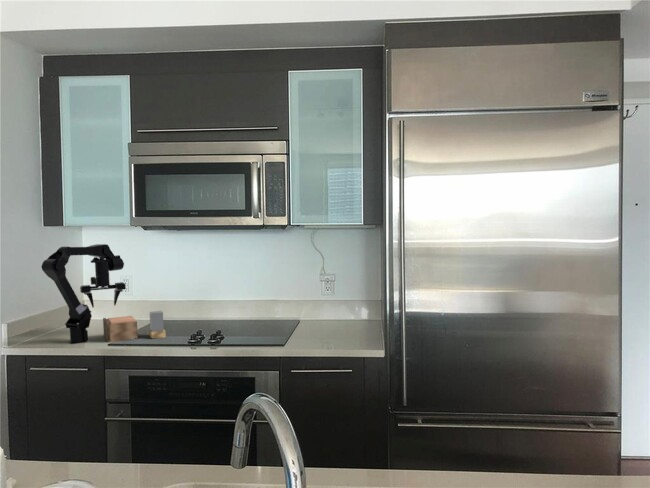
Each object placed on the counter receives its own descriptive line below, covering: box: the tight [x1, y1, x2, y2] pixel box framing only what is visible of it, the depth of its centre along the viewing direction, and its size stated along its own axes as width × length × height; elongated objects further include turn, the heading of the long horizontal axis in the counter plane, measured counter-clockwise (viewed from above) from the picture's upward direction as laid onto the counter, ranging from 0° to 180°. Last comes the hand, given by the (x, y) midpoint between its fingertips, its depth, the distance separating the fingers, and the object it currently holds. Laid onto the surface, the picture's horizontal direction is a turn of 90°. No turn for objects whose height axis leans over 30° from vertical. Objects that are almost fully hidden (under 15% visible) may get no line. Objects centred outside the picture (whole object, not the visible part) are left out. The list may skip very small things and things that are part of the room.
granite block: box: [149, 310, 165, 332], centre depth 253 cm, size 5×5×8 cm
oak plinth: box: [148, 329, 167, 339], centre depth 253 cm, size 6×6×3 cm
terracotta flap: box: [106, 315, 136, 324], centre depth 253 cm, size 10×10×1 cm
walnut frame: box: [102, 317, 139, 343], centre depth 253 cm, size 12×13×8 cm
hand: (104, 306), depth 260 cm, fingers open, 9 cm apart
